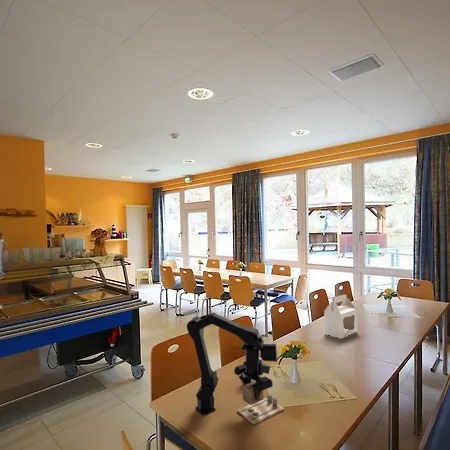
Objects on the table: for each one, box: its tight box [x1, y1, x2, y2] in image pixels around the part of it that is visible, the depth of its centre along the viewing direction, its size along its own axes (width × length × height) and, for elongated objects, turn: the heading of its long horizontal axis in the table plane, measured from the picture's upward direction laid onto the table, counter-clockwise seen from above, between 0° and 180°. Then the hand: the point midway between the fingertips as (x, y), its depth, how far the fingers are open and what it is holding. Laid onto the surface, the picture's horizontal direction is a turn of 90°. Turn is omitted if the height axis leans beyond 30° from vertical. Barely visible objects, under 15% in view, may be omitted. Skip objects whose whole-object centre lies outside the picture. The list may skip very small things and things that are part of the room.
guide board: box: [236, 393, 285, 426], centre depth 132 cm, size 17×11×4 cm, turn 125°
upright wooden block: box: [242, 381, 264, 405], centre depth 130 cm, size 7×5×6 cm
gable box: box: [323, 294, 358, 340], centre depth 228 cm, size 22×13×28 cm, turn 129°
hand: (252, 396), depth 130 cm, fingers closed on upright wooden block, 5 cm apart
